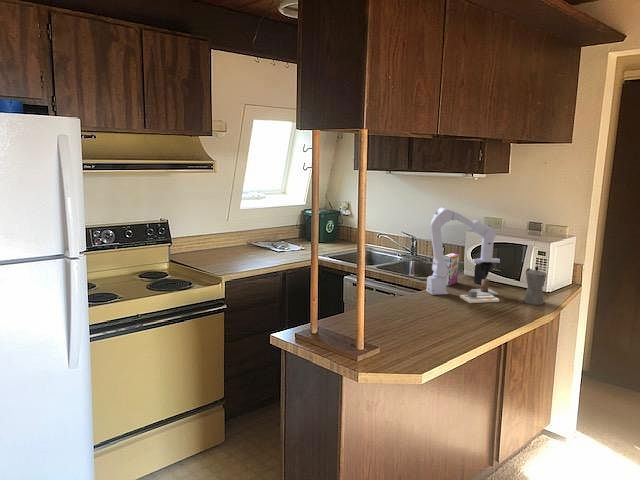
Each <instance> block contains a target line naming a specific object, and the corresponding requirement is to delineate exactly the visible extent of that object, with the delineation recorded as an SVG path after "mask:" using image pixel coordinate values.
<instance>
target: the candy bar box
mask: <svg viewBox="0 0 640 480" xmlns="http://www.w3.org/2000/svg"><path fill="white" fill-rule="evenodd" d="M444 260H445V263H446V266H447V268H448V274H447V278H446V287H450V286H452V285H455V284H457V283H458V275H459V262H460V253H459V254H458V253H448V254H446V255H444Z"/></svg>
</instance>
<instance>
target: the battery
mask: <svg viewBox="0 0 640 480" xmlns="http://www.w3.org/2000/svg"><path fill="white" fill-rule="evenodd" d="M473 274H474V278H473V283H475V284H478V285H481V283H482V279H487V277H488V276H487V277H484V276H483V273H482V269H481V267H480V264H479V263H476V264H475V266H474V273H473Z"/></svg>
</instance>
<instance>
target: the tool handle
mask: <svg viewBox="0 0 640 480" xmlns="http://www.w3.org/2000/svg"><path fill="white" fill-rule="evenodd" d="M489 283H490V280H489V279H487V278H486V279H482V283H481V284H480V285H481V286H480V289H481V291H482V292H488V289H489V285H490V284H489Z"/></svg>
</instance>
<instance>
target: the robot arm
mask: <svg viewBox="0 0 640 480" xmlns="http://www.w3.org/2000/svg"><path fill="white" fill-rule="evenodd" d="M450 221H458V222H459V223H462V224H464V225H466V226H468V228H469V230H470V231H471V232H474V233H475V234H477V235H479V236H480V237H482V238H481V249H480V257H479V258H472V261H471V262H472V264H475V265H476V264H477V263H479V264H480V267H481V269H482V273H483V276H484V277H488V275H489V273H490V270H491V269H492V267H493V264H494V263H498V264H500V262H501V259H500V258H496V257H495V258H494V257H493V256H494V255H493V253H494V242H495V241H494V239H495V238H496V237H497V234H496V231H495V230H494V229H493V228H491V227H489V225H488V224H484V223H482V221H481V220H477V219H474V220H471V219H469V218H468V217H466V216H464V215H463V214H461V213H459V212H458V211H454V210H453V209H452V210H451V209H448V208H446V207H445V206H443V207H442V206H441V207H439V208H438V209H437V210H436V211H434V214H433V216H432V219H431V222H430V224H429V227H430V228H429V229H430V236H431V246H432V252H433V253H432V254H433V258H432V265H431V271H433V273H432V275H429V276H427V279H426V289H425V292H427V293H428V294H430V295H433V296H435V295H449V292H447V286H446V278H447V274H448V268H447V266H446V263H445V260H444V256H445V255H444V247H443V238H442V231H441V230H442V229H441V228H442V227H443V226H444V225H445V224H447V223H448V222H450Z"/></svg>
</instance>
